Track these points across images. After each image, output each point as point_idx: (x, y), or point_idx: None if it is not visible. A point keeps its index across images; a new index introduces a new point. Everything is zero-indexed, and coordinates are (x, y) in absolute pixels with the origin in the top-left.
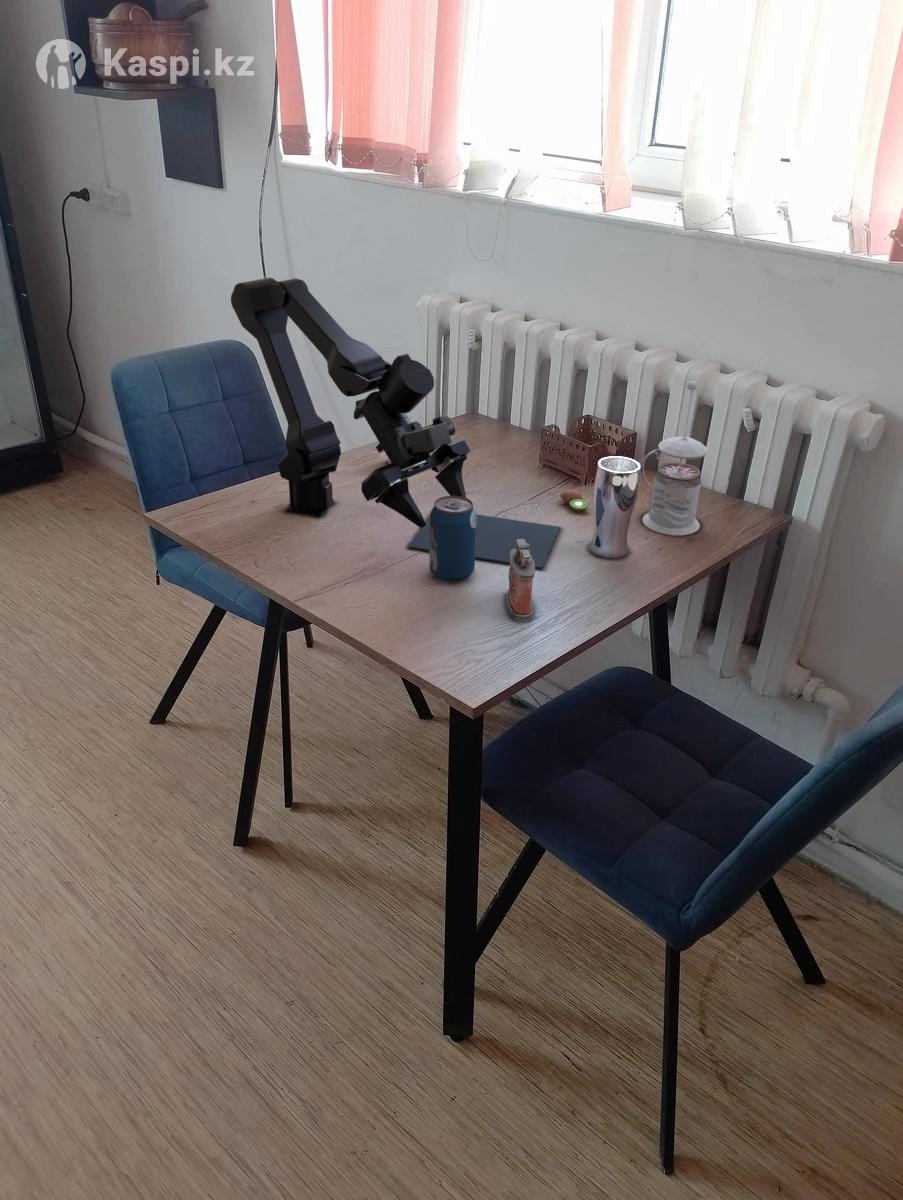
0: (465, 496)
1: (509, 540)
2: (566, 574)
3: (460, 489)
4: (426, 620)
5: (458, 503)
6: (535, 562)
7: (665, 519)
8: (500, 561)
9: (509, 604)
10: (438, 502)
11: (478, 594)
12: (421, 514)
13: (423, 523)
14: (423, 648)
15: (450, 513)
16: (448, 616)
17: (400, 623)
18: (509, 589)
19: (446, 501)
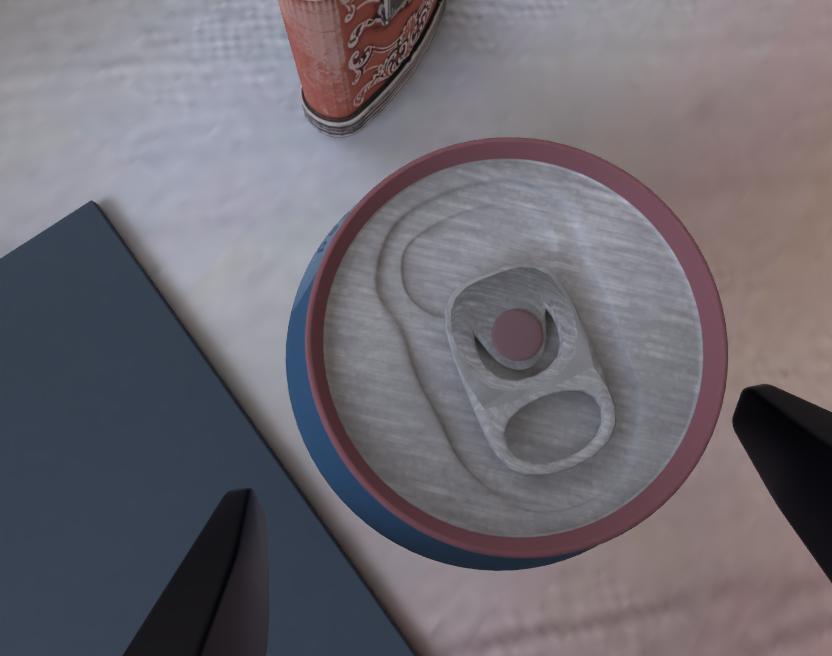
0: (187, 561)
1: (11, 485)
2: (47, 123)
3: (195, 638)
4: (717, 165)
5: (457, 328)
6: (80, 249)
7: None
8: (197, 347)
9: (422, 40)
10: (613, 493)
11: None
12: (824, 435)
13: (776, 390)
14: (809, 40)
15: (649, 204)
16: (634, 142)
17: (808, 200)
18: (395, 44)
19: (508, 482)
